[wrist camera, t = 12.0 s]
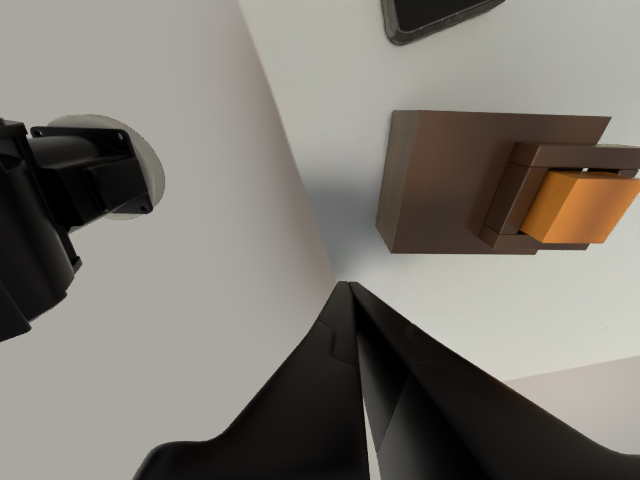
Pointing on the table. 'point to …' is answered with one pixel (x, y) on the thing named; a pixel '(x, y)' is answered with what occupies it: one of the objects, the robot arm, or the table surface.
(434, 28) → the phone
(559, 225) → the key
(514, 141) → the stepped brown pedestal
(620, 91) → the table surface
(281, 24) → the table surface
